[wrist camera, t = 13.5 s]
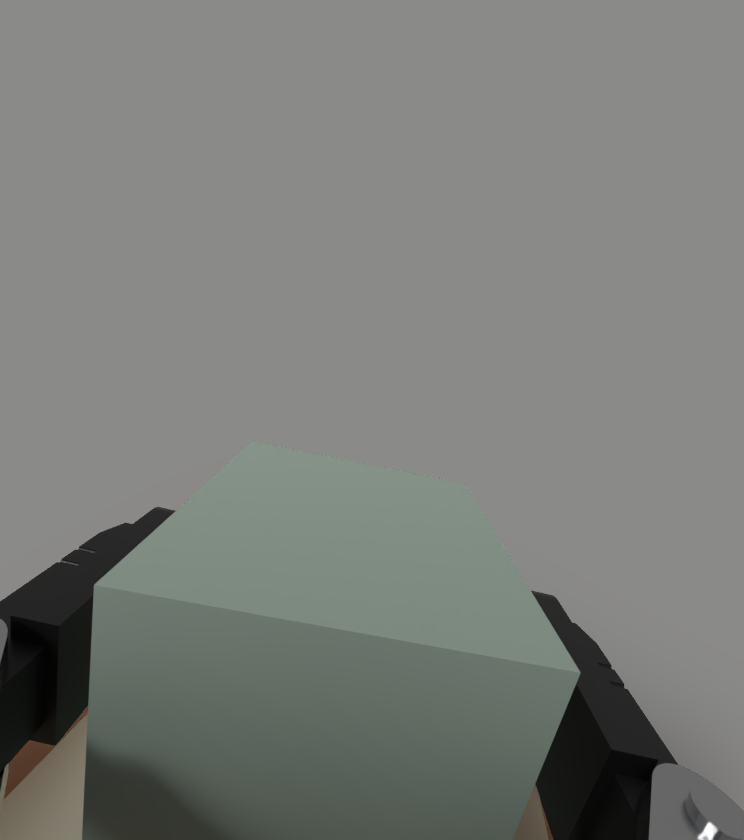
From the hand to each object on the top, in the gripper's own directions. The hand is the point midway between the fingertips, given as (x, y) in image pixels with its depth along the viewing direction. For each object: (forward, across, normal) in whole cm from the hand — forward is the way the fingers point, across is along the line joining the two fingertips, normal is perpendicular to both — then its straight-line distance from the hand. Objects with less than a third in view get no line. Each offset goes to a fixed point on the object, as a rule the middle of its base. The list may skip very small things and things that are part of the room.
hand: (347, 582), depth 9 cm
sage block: (-2, 0, +7) cm, 7 cm away
